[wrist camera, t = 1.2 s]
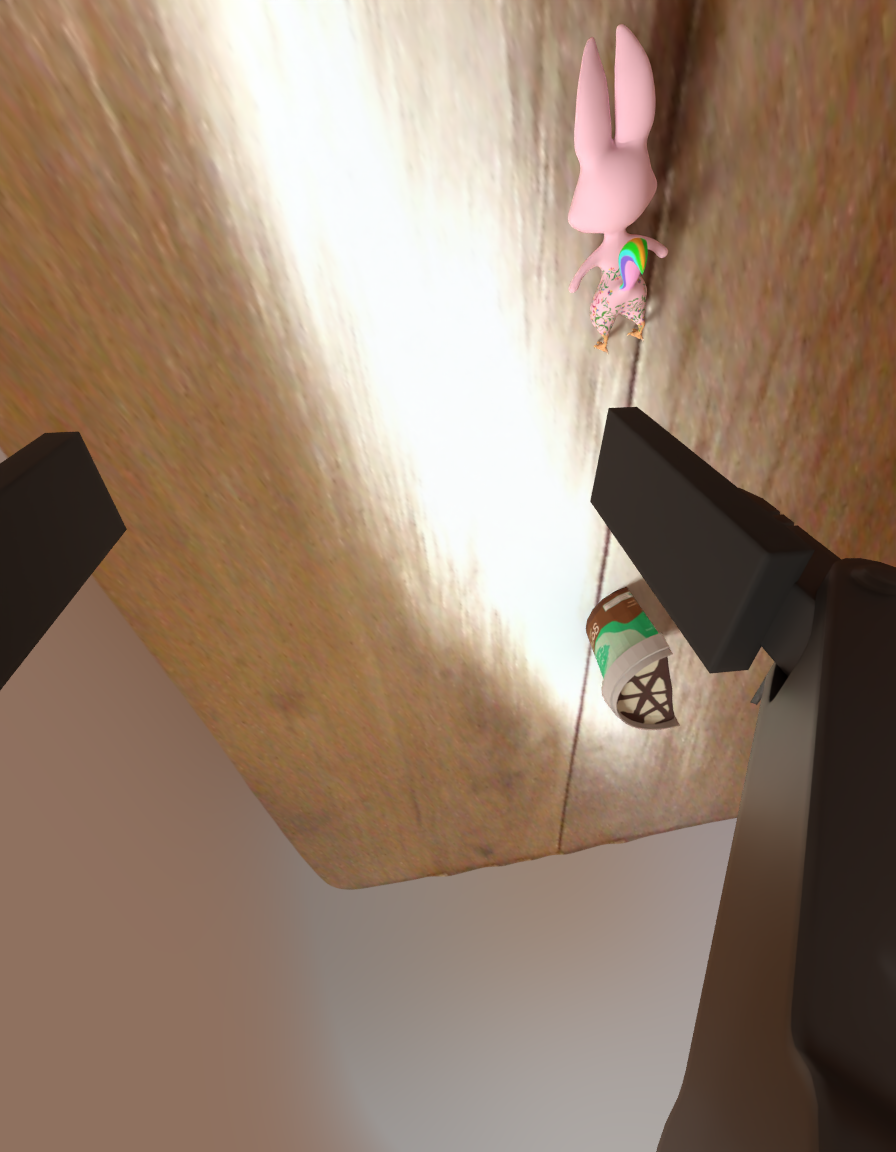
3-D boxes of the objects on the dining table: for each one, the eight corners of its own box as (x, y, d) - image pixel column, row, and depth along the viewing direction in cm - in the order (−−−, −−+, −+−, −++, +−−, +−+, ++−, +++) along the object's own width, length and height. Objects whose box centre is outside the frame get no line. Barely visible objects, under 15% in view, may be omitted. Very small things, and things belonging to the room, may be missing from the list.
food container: (564, 596, 48) (600, 672, 41) (624, 576, 48) (672, 649, 40) (585, 670, 56) (618, 746, 48) (637, 653, 55) (680, 728, 47)
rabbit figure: (650, 315, 35) (654, 4, 24) (692, 348, 30) (720, -9, 20) (565, 346, 35) (531, 59, 24) (595, 383, 31) (571, 58, 20)
